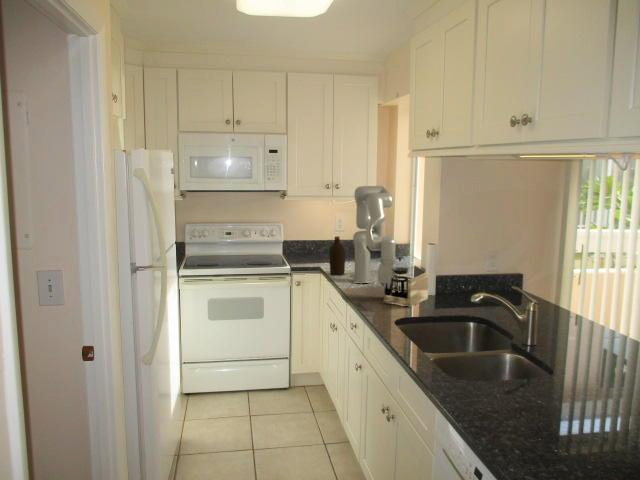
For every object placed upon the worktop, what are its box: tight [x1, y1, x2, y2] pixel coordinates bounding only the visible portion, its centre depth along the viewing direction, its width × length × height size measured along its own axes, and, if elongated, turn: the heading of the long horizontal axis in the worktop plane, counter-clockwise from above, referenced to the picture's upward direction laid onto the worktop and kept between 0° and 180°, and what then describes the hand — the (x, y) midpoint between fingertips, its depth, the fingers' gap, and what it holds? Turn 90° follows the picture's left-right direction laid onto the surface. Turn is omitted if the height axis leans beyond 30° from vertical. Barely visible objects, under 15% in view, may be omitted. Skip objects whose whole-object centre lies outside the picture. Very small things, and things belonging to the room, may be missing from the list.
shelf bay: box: [383, 272, 429, 306], centre depth 255 cm, size 15×21×14 cm
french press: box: [390, 256, 413, 299], centre depth 257 cm, size 12×9×23 cm
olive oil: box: [328, 236, 346, 276], centre depth 321 cm, size 11×11×25 cm
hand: (387, 295), depth 263 cm, fingers closed
